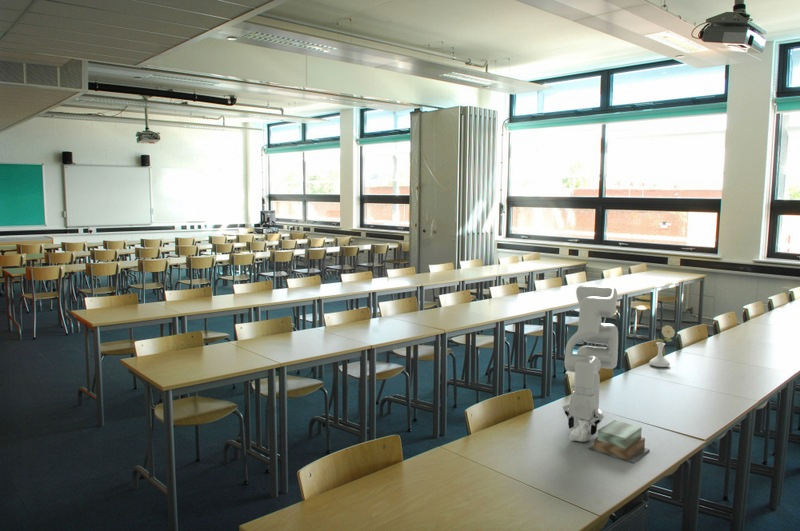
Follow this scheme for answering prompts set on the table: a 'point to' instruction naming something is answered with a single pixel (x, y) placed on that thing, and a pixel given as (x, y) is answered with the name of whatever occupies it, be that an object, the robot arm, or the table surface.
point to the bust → (581, 431)
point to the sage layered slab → (620, 441)
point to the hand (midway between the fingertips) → (582, 430)
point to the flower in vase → (659, 359)
